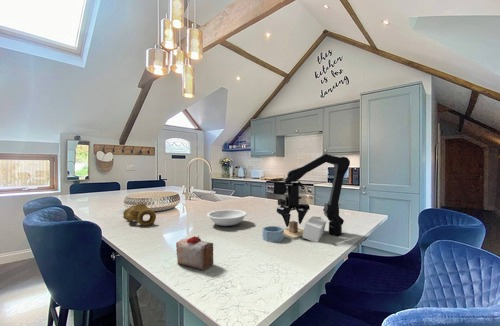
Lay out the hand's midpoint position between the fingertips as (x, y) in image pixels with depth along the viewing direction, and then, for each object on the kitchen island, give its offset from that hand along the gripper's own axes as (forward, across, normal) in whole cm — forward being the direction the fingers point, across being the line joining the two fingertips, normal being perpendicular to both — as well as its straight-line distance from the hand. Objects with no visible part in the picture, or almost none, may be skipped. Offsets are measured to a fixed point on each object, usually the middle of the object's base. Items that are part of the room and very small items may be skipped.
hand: (293, 225), depth 115 cm
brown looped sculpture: (+5, +60, -74) cm, 96 cm away
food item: (+5, +54, +2) cm, 54 cm away
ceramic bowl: (+4, +14, 0) cm, 15 cm away
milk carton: (0, +3, +14) cm, 14 cm away
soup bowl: (+5, +18, -37) cm, 41 cm away
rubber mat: (+4, 0, 0) cm, 5 cm away
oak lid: (+4, 0, 0) cm, 4 cm away
